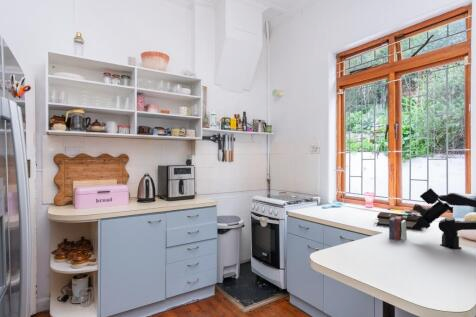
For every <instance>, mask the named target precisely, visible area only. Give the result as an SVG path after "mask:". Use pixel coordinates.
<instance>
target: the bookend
mask: <svg viewBox="0 0 476 317" xmlns="http://www.w3.org/2000/svg"><path fill="white" fill-rule="evenodd" d="M401 229H402V238H401V241H402V242H405V241H406V240H407V239H408V236H407V229H406V220H403V221H402V222H401Z"/></svg>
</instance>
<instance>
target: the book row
mask: <svg viewBox="0 0 476 317" xmlns="http://www.w3.org/2000/svg"><path fill="white" fill-rule="evenodd" d="M401 222H402V217H401V216H396V217H395V218H394V217H391V218H390V219H389V226H388V228H389V229H388V240H395V241H400V240H402V229H401Z"/></svg>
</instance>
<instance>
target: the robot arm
mask: <svg viewBox="0 0 476 317" xmlns="http://www.w3.org/2000/svg"><path fill="white" fill-rule="evenodd" d="M419 197H420V198H421V199H422V200H423V201H424V202H425V203H427V205H432V206H431V207H428V208H426V207H425V206H423V205H421V204H418V203H415V204H414V206H413V207H412V209H411V210H412V211H414V212H417V213H419V214H418V217H417V222H416V223H415V224H414V226H413V227H412V228H411V229H410V230H411V231H417V230H416V229H420V228H422V229H424V228H425V229H426V230H427V229H429V228H430V227H431V224H432V223H433V222H434V221H436V220H437V219H440V217H441V216H442V215H444V214H445V213H446V212H448V211H449V213H452V214H453V213H454V206H459V207H460V206H461V207H471V208H476V199H475V198H470V197H467V196H466V195H465V196H464V195H461V194H458V193H456V192H449V193H447V194H442V195H439V194H437V193H436V192H435V190H433V189H432V188H429V189H427V190H426V191H424V192H422V194H421V195H420V196H419ZM438 229H439V231H441V232H442V233H441V244H439V246H441V247H443V248H447V249H451V250H457V249H458V250H459V249H462V247H461V246H460V236H459V231H476V220H470V221H466V220H464V221H460V220H456V217H450V218H448V217H444V218H443V219H441V220H439V222H438Z"/></svg>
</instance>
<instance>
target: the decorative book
mask: <svg viewBox="0 0 476 317" xmlns="http://www.w3.org/2000/svg"><path fill="white" fill-rule="evenodd" d="M396 216H401V217H402V221H403V220H406V230H412V229H411V228H412V227H413V226H414V224H415V223H416V222H417V217H418V216H419V214H416V213H397V212H396V213H395V212H387V211H386V212H384V211H380V212H379V213H378V214H377V216H376V218H375V221H376V220H377V221H378V222H377V223H376V224H377V225H376V226H381V227H389V219H390V218H391V217H394V218H395V217H396ZM422 230H423V228H420V229H416V230H415V231H422Z"/></svg>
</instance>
